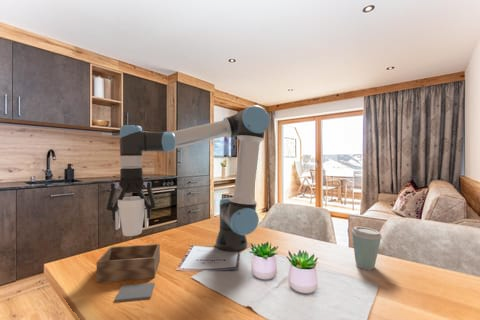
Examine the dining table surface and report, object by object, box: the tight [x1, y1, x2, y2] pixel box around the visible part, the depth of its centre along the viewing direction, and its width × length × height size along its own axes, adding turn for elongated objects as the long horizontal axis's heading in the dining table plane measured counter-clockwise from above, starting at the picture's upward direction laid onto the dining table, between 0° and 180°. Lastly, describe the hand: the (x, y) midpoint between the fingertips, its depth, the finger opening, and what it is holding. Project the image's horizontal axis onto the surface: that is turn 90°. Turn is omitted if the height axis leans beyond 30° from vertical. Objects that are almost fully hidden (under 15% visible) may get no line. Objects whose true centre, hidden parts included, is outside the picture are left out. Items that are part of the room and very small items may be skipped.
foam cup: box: [117, 195, 146, 237], centre depth 88 cm, size 10×9×13 cm
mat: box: [114, 282, 156, 303], centre depth 75 cm, size 10×8×1 cm
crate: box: [96, 243, 161, 284], centre depth 89 cm, size 19×14×7 cm
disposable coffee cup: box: [351, 226, 382, 271], centre depth 94 cm, size 11×11×15 cm
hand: (132, 227), depth 88 cm, fingers closed on foam cup, 9 cm apart
